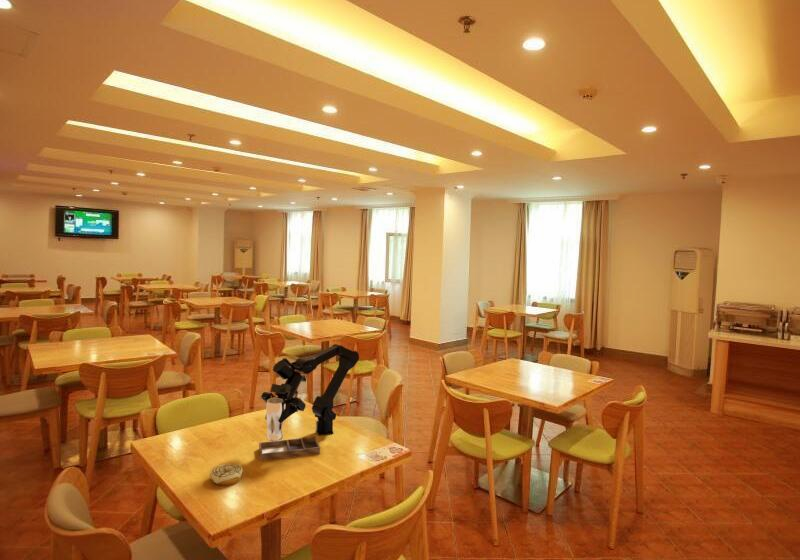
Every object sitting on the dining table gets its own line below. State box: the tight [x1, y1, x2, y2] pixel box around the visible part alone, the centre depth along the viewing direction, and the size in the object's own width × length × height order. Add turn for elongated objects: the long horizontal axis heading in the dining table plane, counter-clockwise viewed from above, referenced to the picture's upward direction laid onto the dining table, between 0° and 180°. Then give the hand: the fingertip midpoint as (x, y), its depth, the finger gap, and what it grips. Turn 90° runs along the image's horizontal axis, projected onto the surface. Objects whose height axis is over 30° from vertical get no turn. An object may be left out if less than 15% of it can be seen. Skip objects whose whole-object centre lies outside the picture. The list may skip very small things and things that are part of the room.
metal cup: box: [265, 398, 286, 442], centre depth 180 cm, size 7×7×15 cm
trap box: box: [258, 436, 321, 462], centre depth 183 cm, size 22×11×2 cm, turn 109°
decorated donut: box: [209, 463, 243, 486], centre depth 160 cm, size 10×11×4 cm
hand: (272, 420), depth 179 cm, fingers closed on metal cup, 6 cm apart
